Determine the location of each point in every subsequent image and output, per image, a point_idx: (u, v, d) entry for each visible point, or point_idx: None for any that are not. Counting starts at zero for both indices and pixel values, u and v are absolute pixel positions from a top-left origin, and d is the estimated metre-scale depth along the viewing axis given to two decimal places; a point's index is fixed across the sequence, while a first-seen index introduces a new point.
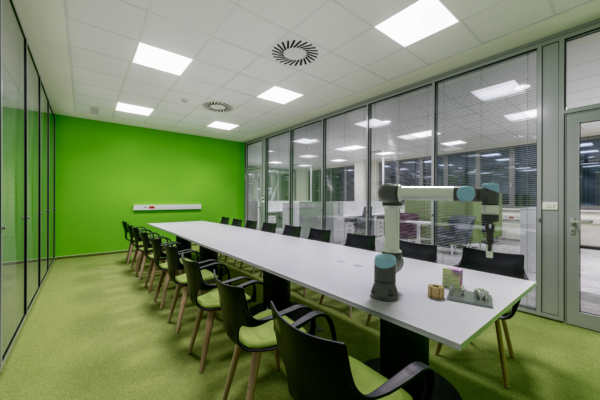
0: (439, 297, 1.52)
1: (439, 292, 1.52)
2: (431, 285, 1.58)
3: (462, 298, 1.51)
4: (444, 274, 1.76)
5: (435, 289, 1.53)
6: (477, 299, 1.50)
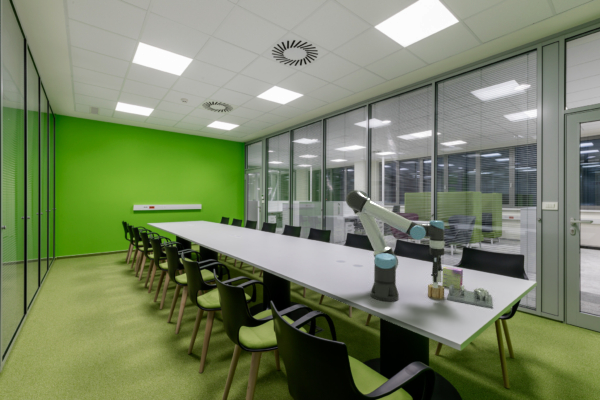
0: (439, 297, 1.52)
1: (439, 292, 1.52)
2: (431, 285, 1.58)
3: (462, 298, 1.51)
4: (444, 274, 1.76)
5: (435, 289, 1.53)
6: (477, 299, 1.50)
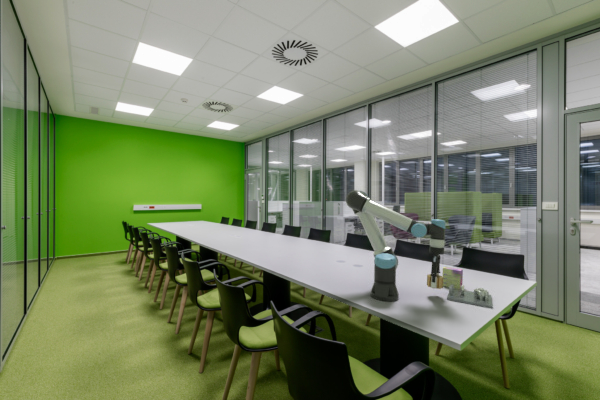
0: (438, 287, 1.53)
1: (438, 282, 1.53)
2: None
3: (462, 298, 1.51)
4: (444, 274, 1.76)
5: None
6: (477, 299, 1.50)
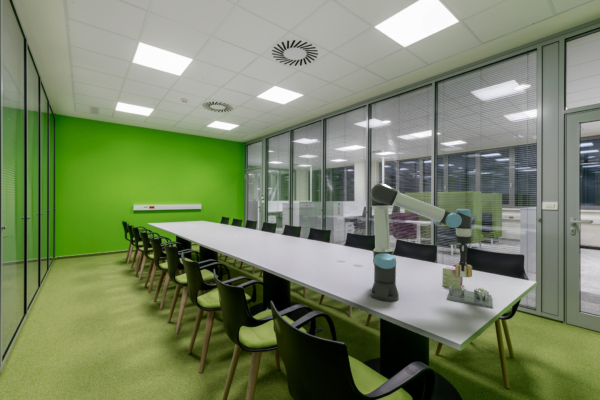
0: (467, 275, 1.54)
1: (467, 270, 1.54)
2: (458, 264, 1.59)
3: (462, 298, 1.51)
4: (444, 274, 1.76)
5: None
6: (477, 299, 1.50)
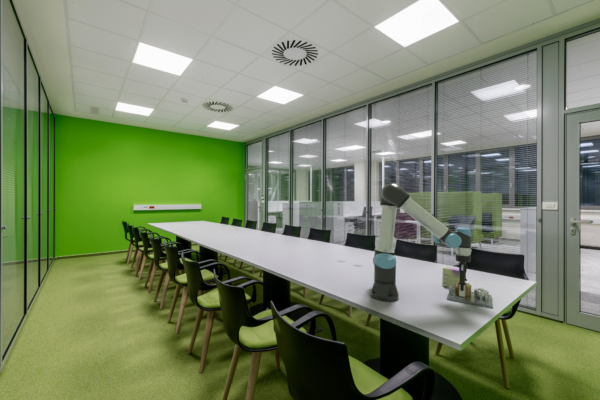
0: (467, 295, 1.54)
1: (466, 290, 1.54)
2: None
3: (462, 298, 1.51)
4: (444, 274, 1.76)
5: None
6: (477, 299, 1.50)
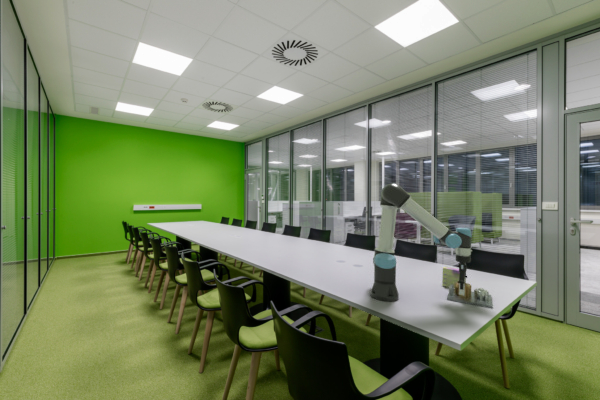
0: (467, 295, 1.54)
1: (467, 290, 1.54)
2: (458, 283, 1.59)
3: (462, 298, 1.51)
4: (444, 274, 1.76)
5: None
6: (477, 299, 1.50)
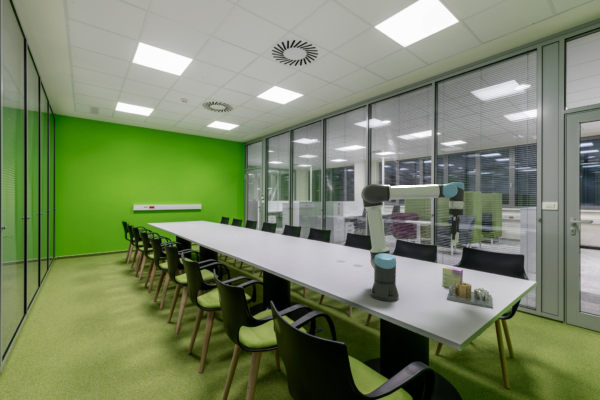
0: (467, 295, 1.54)
1: (467, 290, 1.54)
2: (458, 283, 1.59)
3: (462, 298, 1.51)
4: (444, 274, 1.76)
5: (463, 287, 1.54)
6: (477, 299, 1.50)
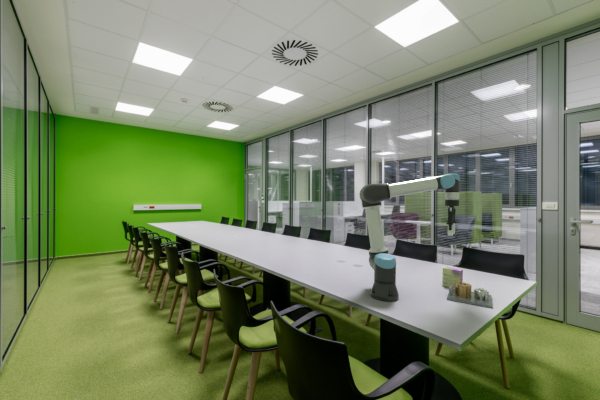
0: (467, 295, 1.54)
1: (467, 290, 1.54)
2: (458, 283, 1.59)
3: (462, 298, 1.51)
4: (444, 274, 1.76)
5: (463, 287, 1.54)
6: (477, 299, 1.50)
